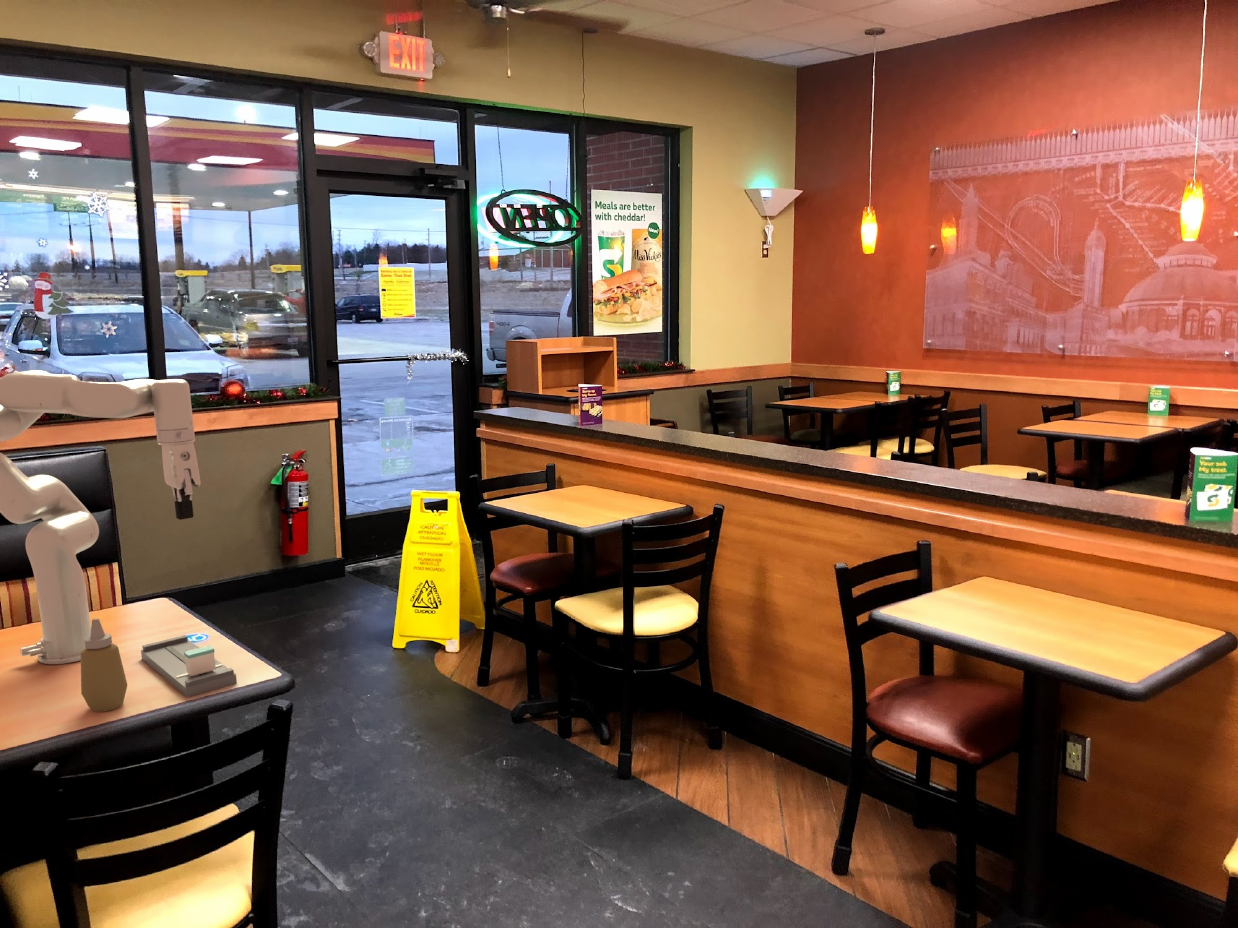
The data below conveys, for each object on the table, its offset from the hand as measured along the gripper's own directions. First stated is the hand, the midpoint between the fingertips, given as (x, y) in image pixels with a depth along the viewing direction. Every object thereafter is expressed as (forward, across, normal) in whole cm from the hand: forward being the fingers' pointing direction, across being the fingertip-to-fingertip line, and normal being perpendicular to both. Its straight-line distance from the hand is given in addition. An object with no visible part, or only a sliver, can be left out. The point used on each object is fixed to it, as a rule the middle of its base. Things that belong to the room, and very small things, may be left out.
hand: (185, 517), depth 216 cm
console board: (+31, -10, +6) cm, 33 cm away
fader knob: (+29, -19, +6) cm, 35 cm away
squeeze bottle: (+31, -18, +24) cm, 43 cm away
